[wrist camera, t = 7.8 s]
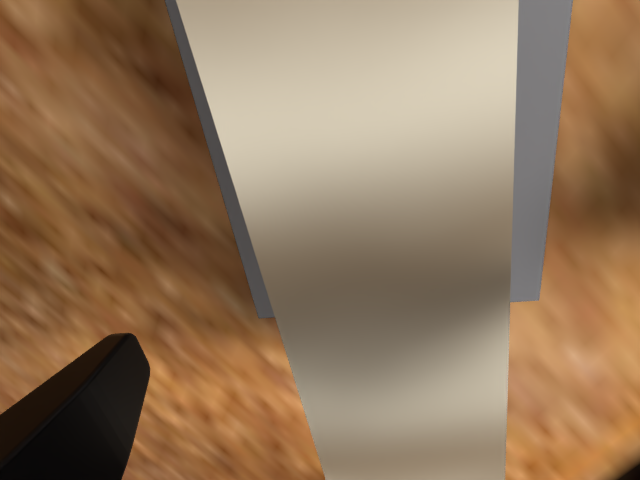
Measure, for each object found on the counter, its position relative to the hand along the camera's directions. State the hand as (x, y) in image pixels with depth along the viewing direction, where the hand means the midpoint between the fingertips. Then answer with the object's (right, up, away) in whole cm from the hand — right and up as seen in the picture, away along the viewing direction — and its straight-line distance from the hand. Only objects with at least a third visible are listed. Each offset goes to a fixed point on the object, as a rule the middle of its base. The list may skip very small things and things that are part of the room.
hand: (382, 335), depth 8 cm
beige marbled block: (+1, +3, +5) cm, 6 cm away
